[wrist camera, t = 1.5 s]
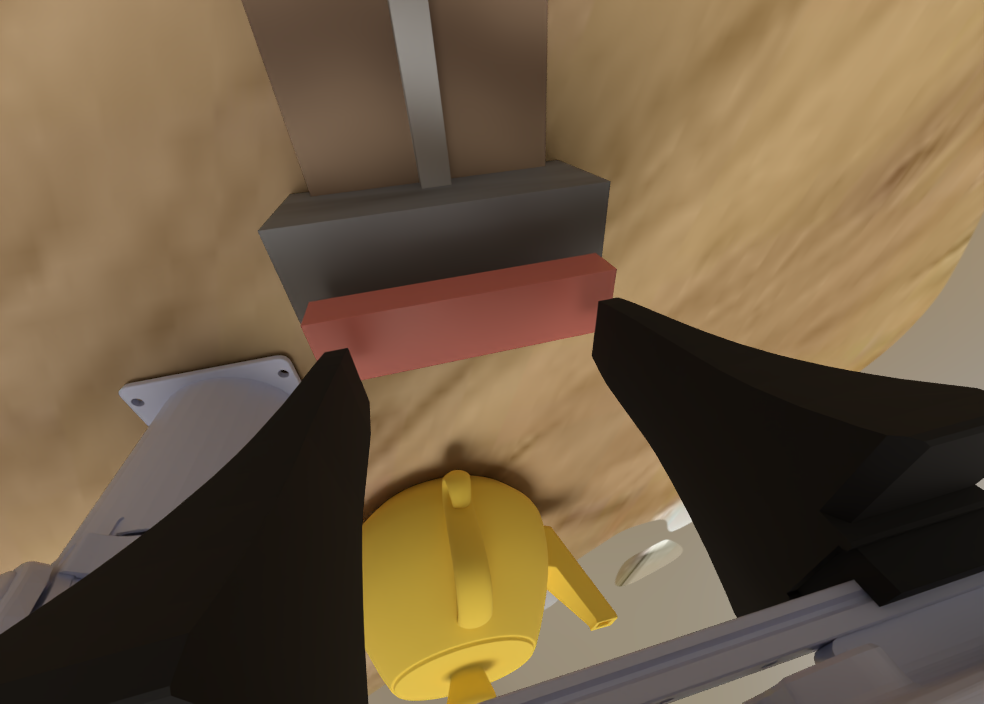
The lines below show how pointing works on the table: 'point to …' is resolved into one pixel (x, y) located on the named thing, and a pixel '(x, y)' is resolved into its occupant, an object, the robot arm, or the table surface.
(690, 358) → the robot arm
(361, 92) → the rail stand
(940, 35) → the table surface
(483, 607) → the teapot
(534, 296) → the bar
